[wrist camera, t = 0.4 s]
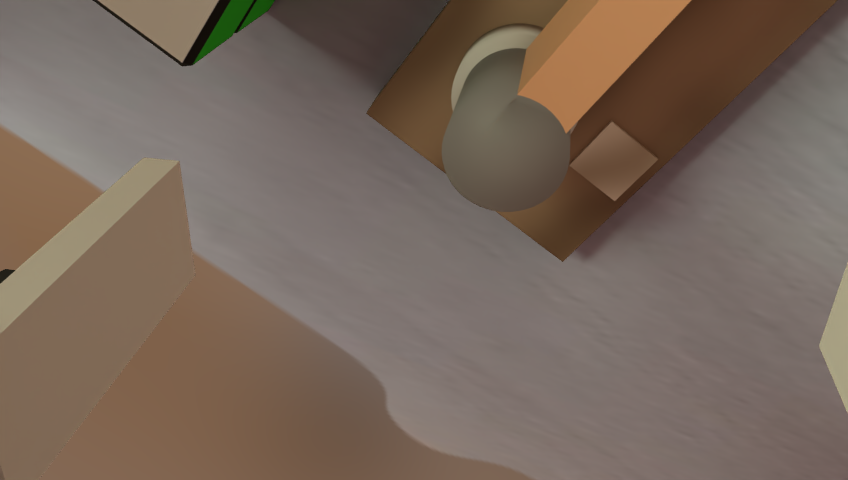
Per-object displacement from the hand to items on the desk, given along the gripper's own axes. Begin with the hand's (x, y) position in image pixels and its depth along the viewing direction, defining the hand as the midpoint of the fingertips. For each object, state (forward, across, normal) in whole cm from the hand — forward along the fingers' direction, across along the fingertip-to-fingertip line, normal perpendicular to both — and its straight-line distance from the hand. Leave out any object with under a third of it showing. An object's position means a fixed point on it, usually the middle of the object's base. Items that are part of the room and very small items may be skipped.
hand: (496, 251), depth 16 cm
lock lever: (+21, +2, -1) cm, 21 cm away
